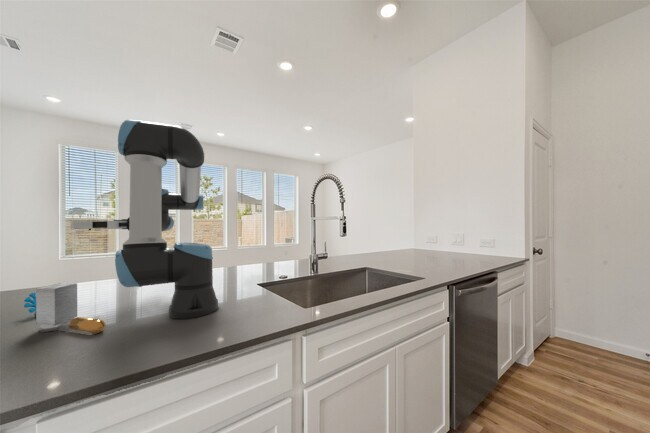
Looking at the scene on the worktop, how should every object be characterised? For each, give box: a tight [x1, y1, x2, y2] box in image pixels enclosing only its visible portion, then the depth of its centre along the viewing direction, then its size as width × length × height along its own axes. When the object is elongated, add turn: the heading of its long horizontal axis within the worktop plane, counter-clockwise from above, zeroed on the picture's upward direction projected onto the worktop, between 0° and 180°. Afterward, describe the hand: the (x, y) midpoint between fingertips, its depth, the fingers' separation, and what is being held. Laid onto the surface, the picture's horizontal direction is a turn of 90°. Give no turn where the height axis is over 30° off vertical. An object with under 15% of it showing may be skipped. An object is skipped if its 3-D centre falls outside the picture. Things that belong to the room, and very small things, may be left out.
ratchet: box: [39, 316, 107, 336], centre depth 74 cm, size 22×7×5 cm, turn 74°
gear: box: [23, 292, 36, 314], centre depth 88 cm, size 11×6×10 cm
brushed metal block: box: [35, 282, 78, 325], centre depth 76 cm, size 6×6×10 cm
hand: (89, 225), depth 86 cm, fingers open, 13 cm apart
